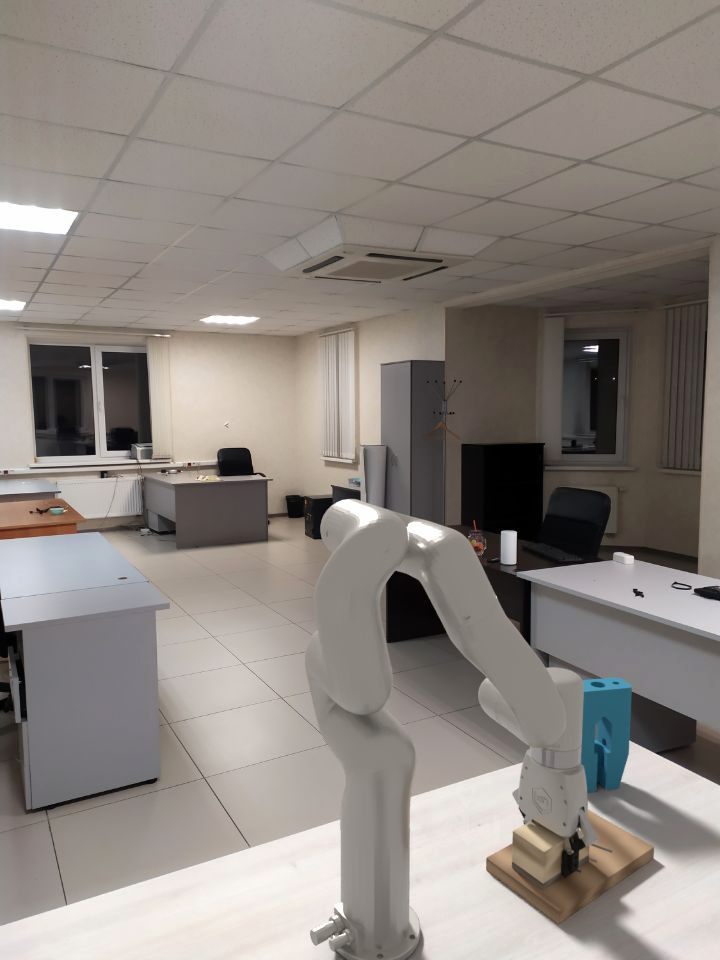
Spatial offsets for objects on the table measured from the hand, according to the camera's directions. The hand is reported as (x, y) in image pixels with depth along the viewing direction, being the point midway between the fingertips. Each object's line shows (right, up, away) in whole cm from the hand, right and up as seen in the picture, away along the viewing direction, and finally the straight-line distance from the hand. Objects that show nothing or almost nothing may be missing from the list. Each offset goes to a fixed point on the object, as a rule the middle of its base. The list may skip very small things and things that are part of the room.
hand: (551, 859), depth 106 cm
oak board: (+4, -2, +3) cm, 6 cm away
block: (+16, 0, +26) cm, 30 cm away
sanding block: (0, -1, 0) cm, 1 cm away
